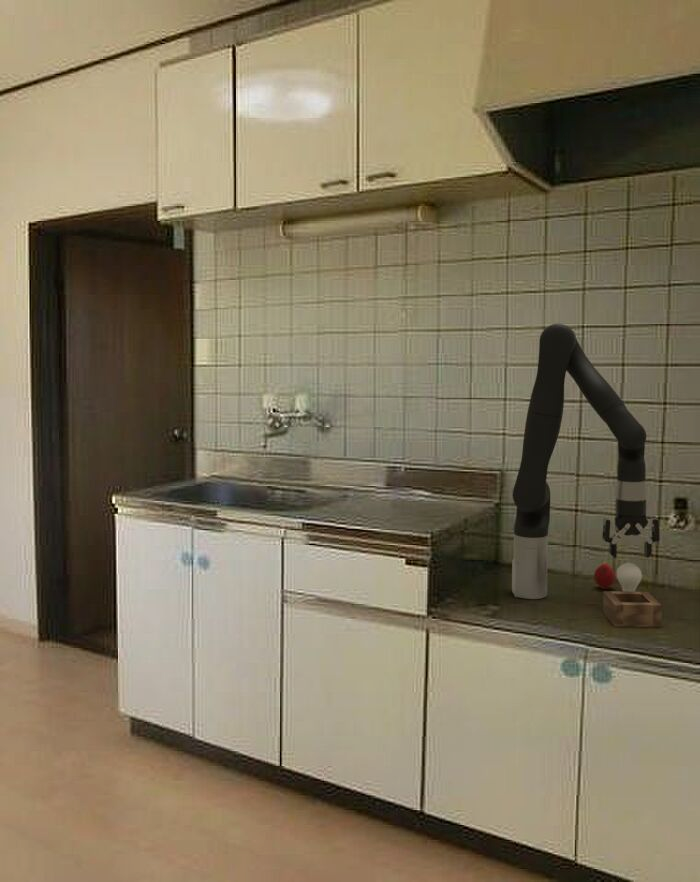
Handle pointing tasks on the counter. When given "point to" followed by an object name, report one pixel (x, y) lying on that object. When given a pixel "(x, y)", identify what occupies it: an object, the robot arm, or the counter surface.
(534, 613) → the counter surface
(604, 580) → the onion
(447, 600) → the counter surface
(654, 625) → the socket block
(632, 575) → the lightbulb
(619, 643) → the counter surface
